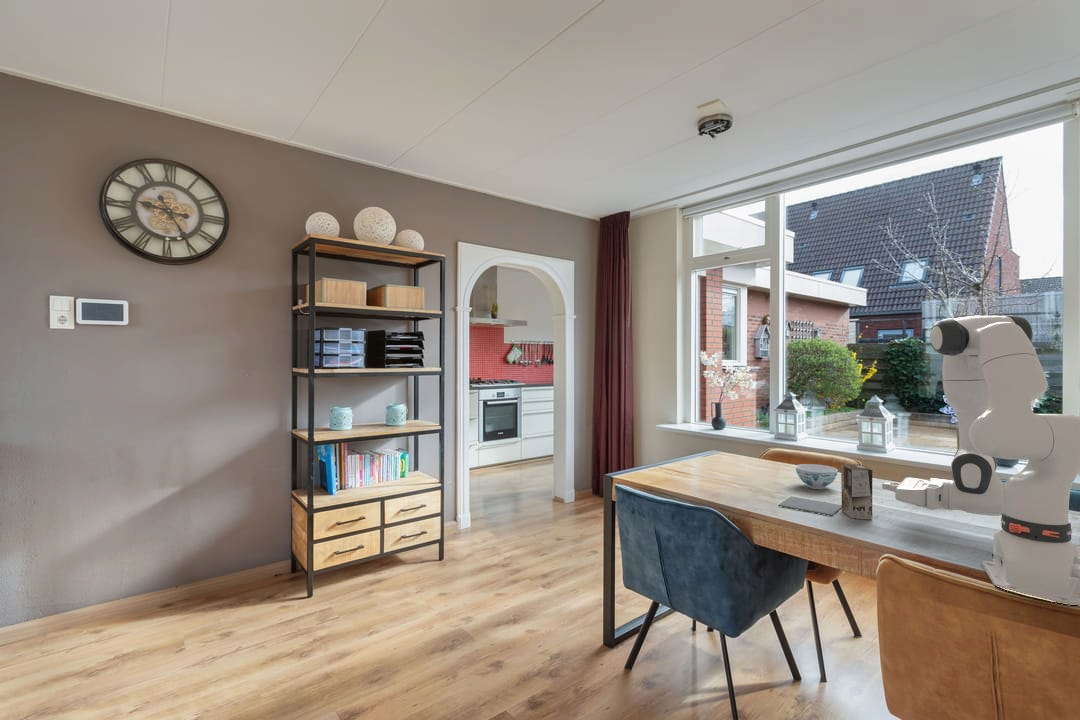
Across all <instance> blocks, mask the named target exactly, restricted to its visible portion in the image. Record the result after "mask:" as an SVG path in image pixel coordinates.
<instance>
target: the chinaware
mask: <svg viewBox="0 0 1080 720" xmlns="http://www.w3.org/2000/svg"><path fill="white" fill-rule="evenodd" d="M795 471H796V474H797V476H798V478H799V479H800V480H801V481H802V482H803V483H804V484H805V485H806V487H807V488H809V489H812V488H813V489H814V490H825V489H826V488H827V487H828V486H829V485H831V484H832V483H833V482H834V481H835V480H836V478H837V476H838V471H839V470H838V469H837V468H835V467H834V466H833V467H832V466H829V465H823V464H814V463H813V464H812V463H803V464H797V465H795Z"/></svg>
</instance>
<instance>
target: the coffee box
mask: <svg viewBox="0 0 1080 720" xmlns="http://www.w3.org/2000/svg"><path fill="white" fill-rule="evenodd" d="M840 465H841V466H840V467H841V468H840V470H841V473H840V475H841V479H840V480H841V482H840V483H841V505H842V508H841V512H843V513H844V514H846V515H847V516H848V517H850V519H851V518H852V519H854V518H856V519H857V520H870V519H872V520H873V469H871V468H869V467H866V466H864V465H862V464H857V463H855V464H854V463H853V464H850V463H848V464H846V463H845V464H842V463H841V464H840Z"/></svg>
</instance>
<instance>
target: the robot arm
mask: <svg viewBox="0 0 1080 720" xmlns="http://www.w3.org/2000/svg"><path fill="white" fill-rule="evenodd" d="M1033 333H1034V331H1033V327H1032V326H1031V323H1029V321H1028V320H1027V318H1025V317H1022V316H1017V315H1012V314H1011V315H1009V314H1006V315H971V316H970V315H969V316H963V317H957V318H952V317H950V318H945V319H942V320H938V321H937V322H935V324H934V325H933V326H932V327H931V330H930V335H929V336H930V344H931V347H932V349H933V350H934V351H935V352H936V353H938V354H940V355H943V360H942V369H941V370H942V371H941V372H942V374H941V375H942V377H941V378H942V388H943V394H944V396H945V397H944V398H945V399H946V402H947V404H948V405H949V406H950V408H951V409H952V410H953V411H954V413H955V416H956V419H957V425H958V437H959V446H958V448H957V451H956V452H955V454H954V457H953V459H952V461H951V463H950V470H951V473H952V478H953V479H952V480H951V479H945V478H935V477H930V478H929V479H923V478H916V477H911V476H909V477H907V476H906V477H905V478H904V479H903V480H902V481H901V482H889V481H887V482H886V481H885V482H883V483H882V484H881V487H882V489H883V490H886V491H887V490H888V491H890V492H893V493H894V495H895V500H896V501H899V502H902V503H905V504H911V505H916V506H920V507H926V509H928V510H939V509H940V510H948V511H961V512H965V513H967V514H972V515H973V514H974V515H980V516H989V517H995V516H997V517H999V516H1001V517H1000V523H1001V524H1000V525H1001V529H1000V530H999V531H998V532H996V533H994V534H993V548H992V549H993V552H992V554H991V557H992V560H985V561H983V562H982V567H983V569H984V571H985V572H986V575H988V577H989V580H990V581H991V582H992V585H993V586H994V585H997V586H999V587H1002V588H1005V589H1009V590H1013V591H1016V592H1020V593H1024V594H1028V595H1032V596H1037V597H1041V598H1045V599H1049V600H1053V601H1057V602H1061V603H1067V604H1072V605H1080V547H1077V546H1076V545H1075V544H1074V543H1073V542H1072V533H1073V530H1072V523H1071V522H1069V512H1070V511H1069V510H1070V507H1069V506H1070V497H1071V496H1070V495H1071V494H1070V493H1071V491H1072V487H1073V483H1074V482H1075V479H1076V478H1077V476H1078V474H1079V473H1080V416H1079V415H1073V414H1068V413H1034V411H1033V408H1032V402H1033V401H1035V400H1037V399H1039V398H1040V397H1041V396H1043V395H1044V394H1045V393H1046V391H1047V390H1048V386H1049V382H1048V380H1047V377H1046V374H1045V371H1044V369H1043V367H1042V364H1041V361H1040V359H1039V356H1038V354H1037V351H1036V349H1035V347H1034V345H1033V343H1032V341H1033V336H1034V334H1033ZM996 458H997V459H1003V460H1013V461H1014V460H1015V461H1016V460H1019V461H1027V463H1026V465H1025V466H1024V468H1023V469H1021V471H1020V472H1018V473H1016V474H1014V475H1011V476H1010V477H1008V478H1007V479H1006V480H1005V482H1004V484H1003V482H1002V480H1001V479H1000V477H999V476H998V474H997V468H998V467H997V465H998V464H997V460H996ZM929 480H930V481H929Z"/></svg>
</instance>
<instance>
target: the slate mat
mask: <svg viewBox="0 0 1080 720" xmlns="http://www.w3.org/2000/svg"><path fill="white" fill-rule="evenodd" d="M777 506H778V507H779V506H782V507H781V508H784V507H787V508H786V509H790V508H792V509H791V510H795V509H798V510H797V511H800V510H803V511H802V512H806V511H809V512H808V513H811V512H814V513H813V514H817V513H820V514H819V515H822V514H825V515H824V516H827V515H829V517H834V516H835V515H836V514H837V513H838V512H839V511H841V510H842V504H838V503H831V502H825V501H820V500H814V499H808V498H803V497H797V496H796V497H795V496H790V497H788V498H786V499H785V500H784V501H782V502H780V503H778V505H777ZM836 512H837V513H836ZM835 513H836V514H835ZM834 514H835V515H834ZM833 515H834V516H833Z"/></svg>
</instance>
